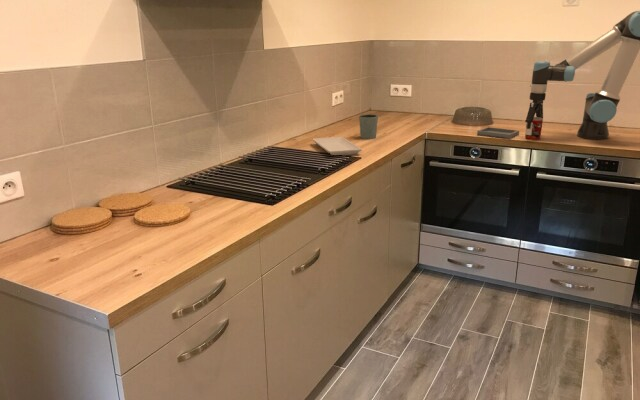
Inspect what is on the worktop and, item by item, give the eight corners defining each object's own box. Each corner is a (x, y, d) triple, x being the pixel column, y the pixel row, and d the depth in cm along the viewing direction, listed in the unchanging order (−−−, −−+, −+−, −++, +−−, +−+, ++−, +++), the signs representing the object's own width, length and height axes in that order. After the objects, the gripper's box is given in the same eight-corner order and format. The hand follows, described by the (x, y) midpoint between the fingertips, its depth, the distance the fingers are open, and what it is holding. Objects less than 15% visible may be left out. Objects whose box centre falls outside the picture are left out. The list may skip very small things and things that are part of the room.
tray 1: (342, 142, 276) (342, 136, 275) (363, 156, 248) (363, 148, 247) (311, 144, 272) (311, 138, 271) (329, 158, 243) (329, 151, 242)
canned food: (523, 139, 277) (526, 118, 273) (525, 136, 284) (528, 116, 280) (539, 140, 274) (542, 119, 270) (541, 137, 280) (543, 117, 277)
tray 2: (518, 135, 288) (519, 130, 287) (509, 139, 277) (510, 134, 277) (487, 131, 298) (487, 126, 298) (477, 135, 288) (477, 130, 287)
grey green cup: (378, 136, 289) (379, 114, 285) (375, 140, 280) (376, 117, 276) (360, 135, 292) (361, 113, 288) (357, 139, 282) (357, 116, 279)
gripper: (538, 89, 282) (533, 128, 289) (522, 94, 264) (517, 135, 271) (552, 90, 278) (547, 130, 285) (537, 95, 259) (532, 137, 266)
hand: (532, 132), depth 278 cm, fingers open, 13 cm apart
